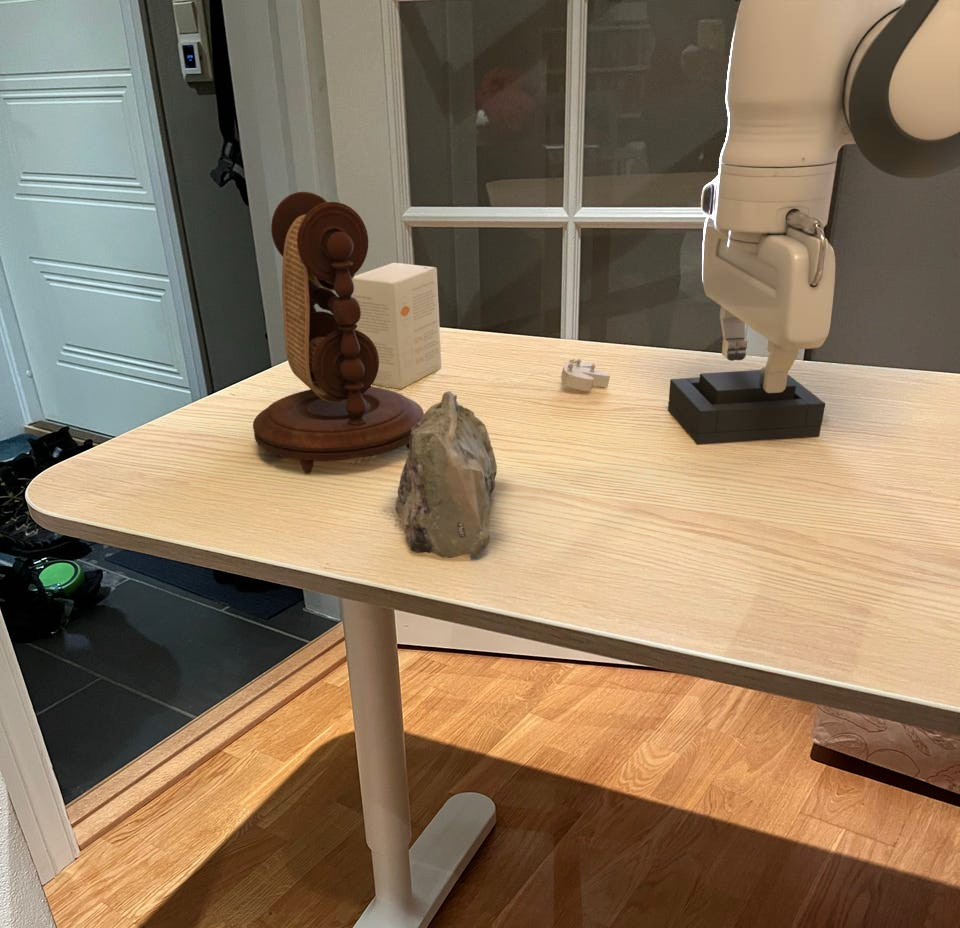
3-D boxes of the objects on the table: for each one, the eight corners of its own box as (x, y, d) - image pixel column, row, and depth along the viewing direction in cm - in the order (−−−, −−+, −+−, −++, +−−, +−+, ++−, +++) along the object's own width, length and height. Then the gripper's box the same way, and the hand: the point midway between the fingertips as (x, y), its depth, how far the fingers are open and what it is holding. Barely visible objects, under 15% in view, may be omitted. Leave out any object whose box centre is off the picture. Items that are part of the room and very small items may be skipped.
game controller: (616, 392, 93) (617, 366, 91) (503, 404, 91) (502, 377, 89) (598, 375, 97) (599, 349, 96) (490, 386, 96) (489, 360, 94)
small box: (400, 362, 103) (393, 261, 97) (443, 369, 101) (438, 265, 95) (356, 382, 97) (346, 276, 92) (400, 390, 95) (392, 282, 89)
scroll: (237, 434, 85) (196, 194, 74) (387, 406, 91) (369, 179, 80) (286, 491, 74) (246, 219, 63) (453, 455, 80) (442, 199, 69)
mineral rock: (462, 475, 76) (457, 351, 71) (571, 508, 70) (575, 376, 65) (348, 533, 68) (333, 397, 62) (461, 575, 62) (455, 430, 57)
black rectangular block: (769, 401, 87) (774, 368, 85) (791, 419, 82) (796, 385, 81) (696, 405, 86) (699, 373, 84) (713, 424, 82) (717, 390, 80)
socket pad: (780, 403, 89) (785, 371, 87) (819, 436, 81) (825, 403, 80) (667, 410, 88) (670, 378, 86) (696, 445, 81) (700, 411, 79)
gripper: (870, 220, 66) (837, 409, 74) (764, 183, 83) (746, 340, 91) (784, 225, 66) (759, 415, 73) (695, 187, 83) (682, 345, 90)
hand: (751, 373), depth 82 cm, fingers open, 8 cm apart
